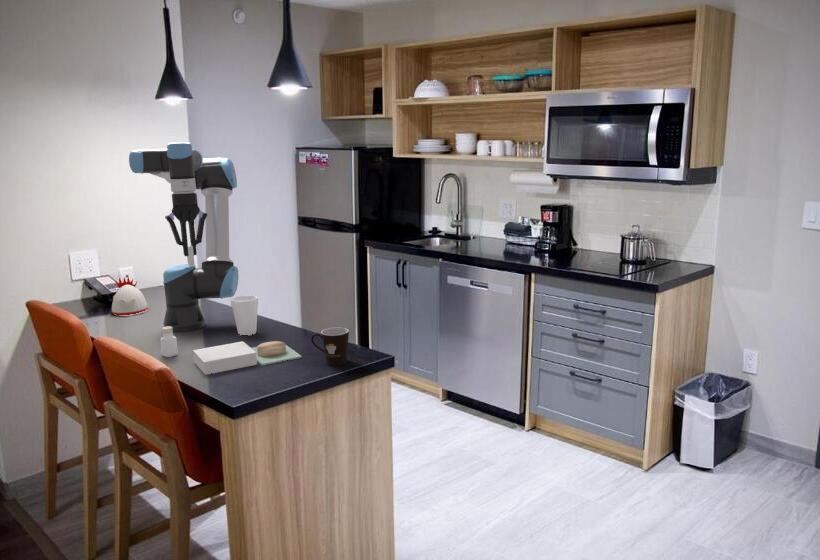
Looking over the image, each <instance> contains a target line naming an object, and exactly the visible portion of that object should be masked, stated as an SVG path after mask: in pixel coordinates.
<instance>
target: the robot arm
mask: <svg viewBox="0 0 820 560" xmlns="http://www.w3.org/2000/svg"><path fill="white" fill-rule="evenodd" d="M128 165H129V169H130V171H132V173H134V174H141V175H142V174H149V175H153V176H156V177H158V178H162V179H164V180H165V181H166V182H167V183H169V184H170V191H171V192H172V193H171V201H172V209H171V212H170V213H169V214H168V215H165V217H164V219H165V220H166V221H167V222H168V223H169V227H170V229H171V231H172V232H171V233H172V234H173V237H174V240H175V243H176V244H177V245H179V246H182V249H183V250H182V251H183V256H184V257H187V264H180V265H176V266H172V267H170V268H167V269H165V270H164V271H163V274H162V277H163V282H162V283H163V291H164V295H165V296H164V297H165V305H166V309H165V314H164V319H163V321H162V322H163V325H162V326H163V327H167V326H171V327H172V330H173V333H182V332H190V331H194V330H199V329H201V328H204V327H205V326H206V325H205V324H206V317H205V315H204V313H203V311H202V308H201V306H200V302H199V300H207V299H227V298H233V297H234V296H235V295H236V292H237V290H238V286H239V278H240V277H239V269H238V266H235V265H234V264H235V263H234V261H233V260H232V259H231V258H230V216H229V214H230V213H229V212H230V206H229V204H230V203H229V202H230V201H229V197H230V196H232V195H233V189H236V188H237V187H238V179H237V173H236V169H235V166H234V163H233V161H232V159H230V158H228V157H212V158H211V157H210V158H209V157H207V158H205V157H204V158H203V155H202V153H201V152H200V151H199V150H198V149H196V148H194V147H193V146H192V143H191V142H189V141H188V142H187V141H186V142H185V141H184V142H169V143H168V144H167V145H166V148H161V149H155V148H154V149H135V150H134V149H133V150H131V151H130V153H129V156H128ZM197 190H200V193H201V194H202V195H203V196H204V197H205V198H204V199H205V200H204V204H205V205H204V206H205V207H204V208H205V209H204V210H205V212H203V211H202V210H201V209H200V207H199V204H198V194H197V192H196V191H197ZM197 217H198V218H199V219H198V223H197V224H198V225H197V230H195V219H196V218H197ZM175 218H176V219H177V220H178V221H179V226H180V234H179V231H178V229H177V226H176V223H175V221H174V220H175ZM187 224H188V231H189V241H190V242H189V243H190V245H189V243H188V233H187ZM204 227H205V259H203V260H202V261H201V267H196V263H195V256H197V253H198V252H197V245H198V244H201V243H202V242H203V235H204V234H203V233H204ZM196 231H197V232H196ZM180 235H181V237H180ZM198 328H199V329H198Z"/></svg>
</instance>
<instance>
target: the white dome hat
mask: <svg viewBox="0 0 820 560" xmlns="http://www.w3.org/2000/svg"><path fill="white" fill-rule="evenodd" d="M137 283H138V281H135V283H134V278H132V279H131V281H130V277H129V276H127V279H126V277H123V282H122V280H121V278H120V277H119V278H118V281H116V280H115V284H116V285H117V287H118V289H117V291H116V292H115V294H114V295H113V296H112V298H113V299H112V304H111V314H112V313H113V314H116V315H130V314H136V313H139V312H142V311H145V310H146V309H148V310H149V305H148V303H147V300H146V298H145V296H144V294H143V292H142V291H141V290H140V289H139V288H138V287H136V286H137Z"/></svg>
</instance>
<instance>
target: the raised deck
mask: <svg viewBox="0 0 820 560" xmlns="http://www.w3.org/2000/svg"><path fill="white" fill-rule="evenodd" d="M251 348H252V347H251V346H249V344H247V343H245V342H244V341H243V340H242V341H236V342H233V343H232V342H231V343H226V344H221V345H215V346H208V347H203V348H199V349H193V350H192V352H193V353H192V354H193V363H194V364H195V365H196V366H197V367H198V368H199V369H200V371H201V372H202V373H203V374H204V375H205V376H207V375H211V373H212V374H217V373H221V372H227V371H233V370H237V369H241V368H242V369H243V368H247V367H251V366H257V365H258V362H257V357H256V352H255V351H254V350H253V349H251ZM206 374H207V375H206Z"/></svg>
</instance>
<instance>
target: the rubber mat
mask: <svg viewBox="0 0 820 560" xmlns="http://www.w3.org/2000/svg"><path fill="white" fill-rule="evenodd" d="M285 346H286V352H285V353H284V354H282V355H280V356H275V357H261V356H259V355H258V351H257V346H253V347H250V348H251V349H253V350H254V351H255V352H256V357H257V363H259V364H260V366H262V367H263V366H268V365H272V364H273V365H274V364H278V363H283V362H287V360H288V361H292V360H298V359H302V355H301V354H300V353H298V352H296V350H294V349H292V348H291V347H289V346H288V345H287V344H285ZM282 361H283V362H282ZM277 362H278V363H277Z"/></svg>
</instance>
